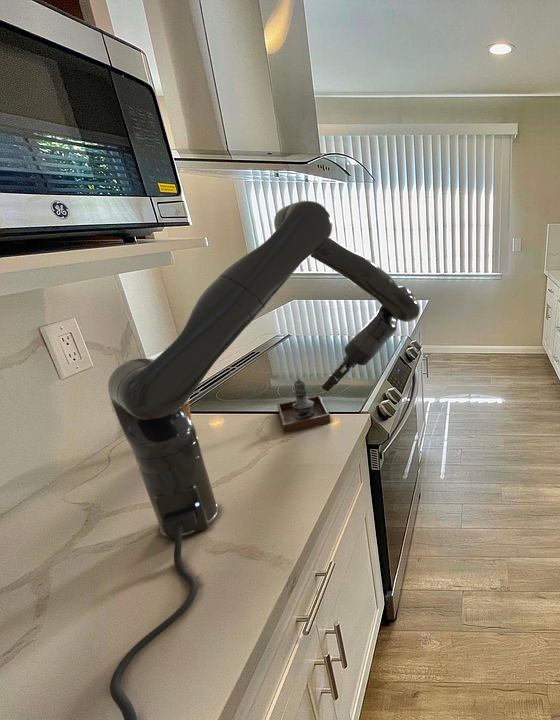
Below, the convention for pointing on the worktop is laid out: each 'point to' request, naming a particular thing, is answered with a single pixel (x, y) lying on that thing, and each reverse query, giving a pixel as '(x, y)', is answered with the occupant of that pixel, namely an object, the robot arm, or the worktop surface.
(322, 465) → the worktop surface
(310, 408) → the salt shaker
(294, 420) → the spice tray
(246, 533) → the worktop surface
